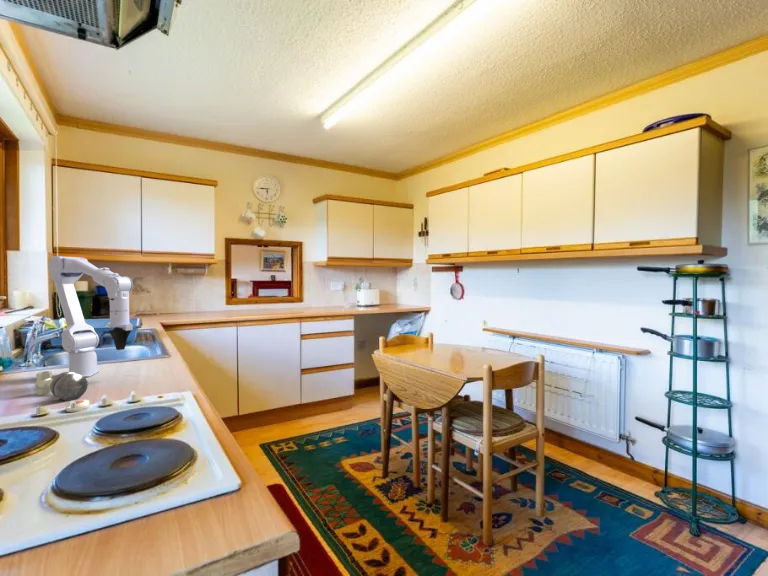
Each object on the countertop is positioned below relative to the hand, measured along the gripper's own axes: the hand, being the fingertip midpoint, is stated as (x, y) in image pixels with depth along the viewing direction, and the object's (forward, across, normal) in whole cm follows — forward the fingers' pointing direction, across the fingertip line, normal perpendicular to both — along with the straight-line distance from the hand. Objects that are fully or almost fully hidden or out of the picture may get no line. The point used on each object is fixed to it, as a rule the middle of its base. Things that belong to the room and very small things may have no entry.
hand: (120, 349), depth 141 cm
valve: (+11, +4, -20) cm, 23 cm away
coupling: (+10, +14, -19) cm, 26 cm away
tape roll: (+10, +27, -21) cm, 36 cm away
